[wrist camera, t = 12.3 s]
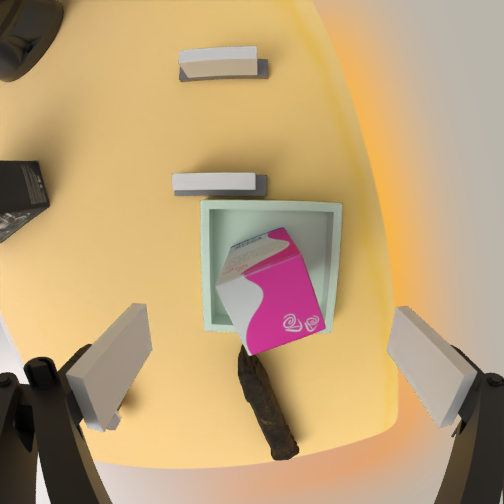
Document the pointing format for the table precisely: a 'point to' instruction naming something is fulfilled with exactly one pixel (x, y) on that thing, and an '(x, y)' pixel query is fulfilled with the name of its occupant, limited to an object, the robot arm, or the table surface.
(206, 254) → the parts tray
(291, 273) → the supplement box
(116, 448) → the table surface
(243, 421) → the table surface
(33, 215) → the small box
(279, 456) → the hand tool
